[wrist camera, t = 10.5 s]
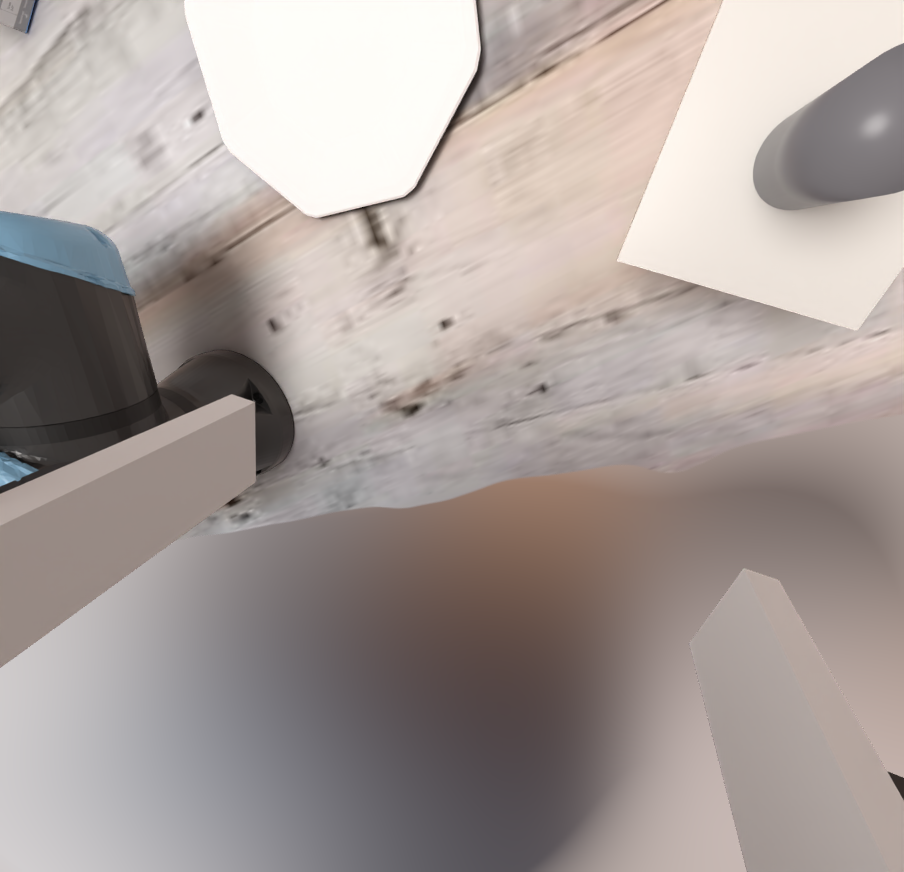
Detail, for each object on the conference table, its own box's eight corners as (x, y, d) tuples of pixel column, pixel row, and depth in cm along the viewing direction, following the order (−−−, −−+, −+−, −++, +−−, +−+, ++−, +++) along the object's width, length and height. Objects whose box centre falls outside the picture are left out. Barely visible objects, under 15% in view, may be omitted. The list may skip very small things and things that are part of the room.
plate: (449, -291, 24) (441, -321, 23) (497, 177, 33) (493, 174, 32) (162, -102, 33) (144, -116, 31) (260, 234, 41) (249, 233, 40)
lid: (616, 260, 24) (621, 267, 17) (736, -35, 18) (819, -207, 11) (846, 327, 22) (960, 367, 15) (1064, 19, 16) (1416, -150, 9)
